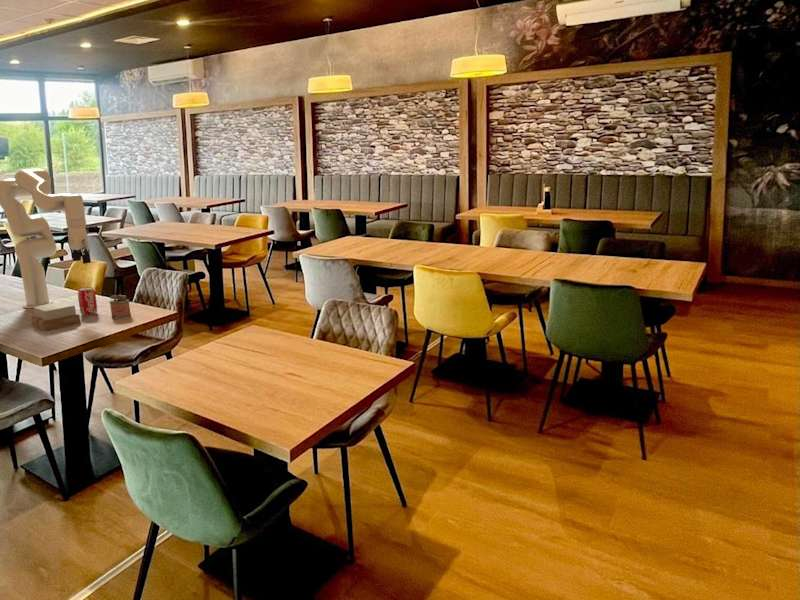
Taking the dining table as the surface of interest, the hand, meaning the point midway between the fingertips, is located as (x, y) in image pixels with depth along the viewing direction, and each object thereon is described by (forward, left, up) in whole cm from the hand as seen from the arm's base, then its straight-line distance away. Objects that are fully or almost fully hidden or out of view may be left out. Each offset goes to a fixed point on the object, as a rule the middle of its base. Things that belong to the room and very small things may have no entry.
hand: (82, 261), depth 280 cm
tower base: (+5, -16, -24) cm, 29 cm away
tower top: (+5, -16, -20) cm, 26 cm away
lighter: (+16, +7, -24) cm, 30 cm away
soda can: (0, 0, -24) cm, 24 cm away
